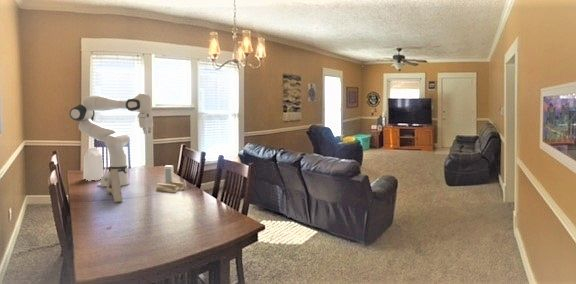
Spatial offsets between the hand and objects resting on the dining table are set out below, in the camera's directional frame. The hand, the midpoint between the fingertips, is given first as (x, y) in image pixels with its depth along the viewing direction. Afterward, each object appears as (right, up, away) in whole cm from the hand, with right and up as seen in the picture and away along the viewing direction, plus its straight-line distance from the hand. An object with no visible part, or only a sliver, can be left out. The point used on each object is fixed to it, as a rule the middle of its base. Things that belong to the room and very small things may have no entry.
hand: (147, 133), depth 302 cm
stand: (+21, -40, -13) cm, 48 cm away
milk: (-52, -37, +25) cm, 69 cm away
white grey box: (+17, -39, 0) cm, 42 cm away
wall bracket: (-10, -43, -35) cm, 56 cm away
